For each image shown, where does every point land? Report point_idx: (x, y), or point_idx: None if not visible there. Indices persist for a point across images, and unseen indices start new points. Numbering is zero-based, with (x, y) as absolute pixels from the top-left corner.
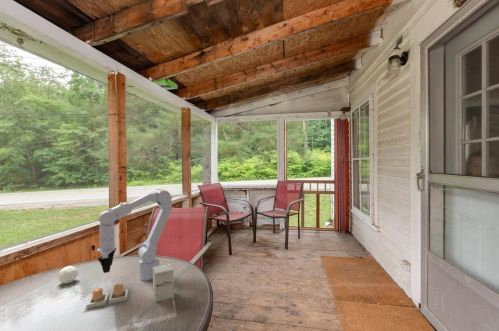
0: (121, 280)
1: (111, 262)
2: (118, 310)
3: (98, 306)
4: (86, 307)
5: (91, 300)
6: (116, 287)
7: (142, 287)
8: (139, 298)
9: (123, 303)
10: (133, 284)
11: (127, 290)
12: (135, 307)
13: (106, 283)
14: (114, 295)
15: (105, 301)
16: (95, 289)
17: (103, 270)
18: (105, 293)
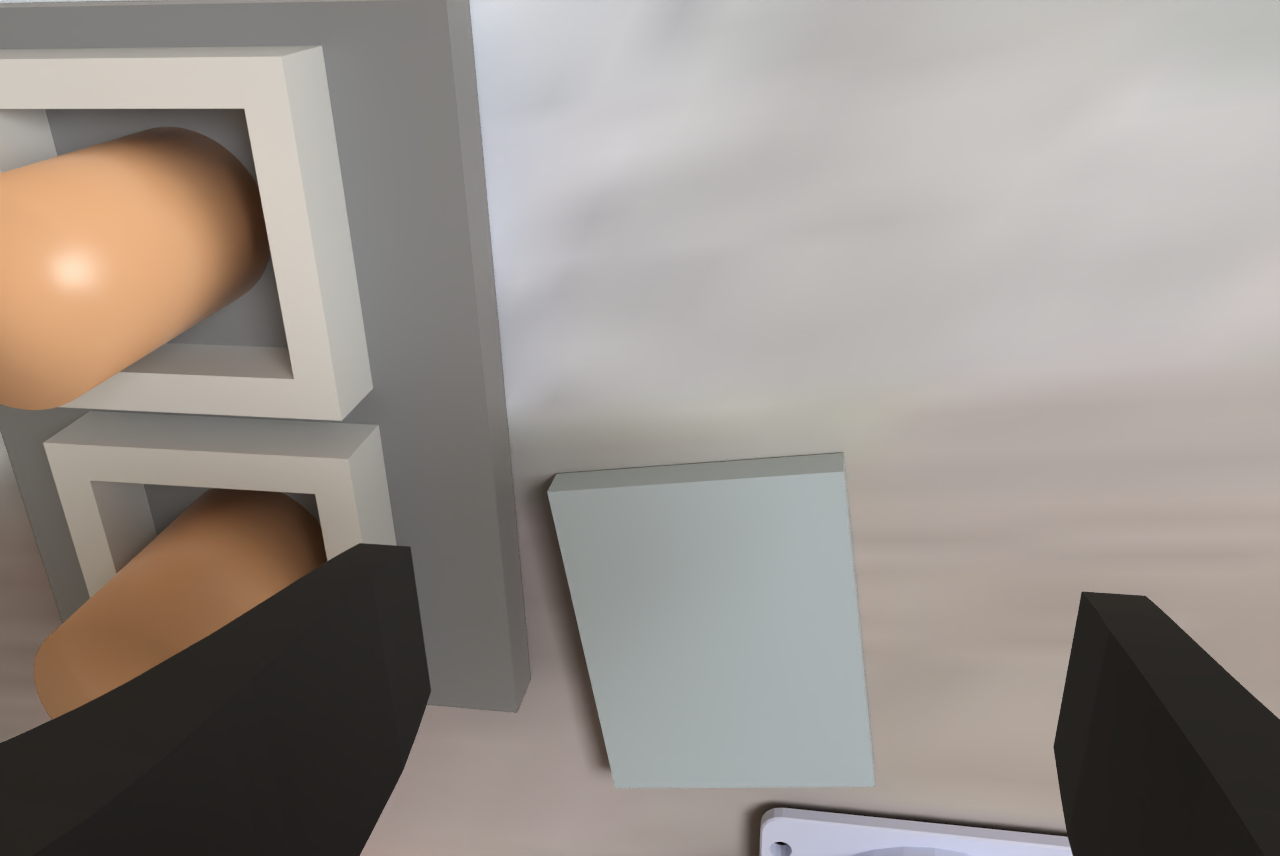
0: (1210, 550)
1: (1075, 842)
2: (5, 521)
3: None
4: (40, 24)
5: (150, 104)
6: (57, 666)
7: (627, 837)
8: None
9: (62, 611)
10: None
11: None
12: (44, 710)
13: (1275, 237)
14: (160, 533)
15: None
16: (33, 250)
17: (288, 596)
18: (334, 362)
